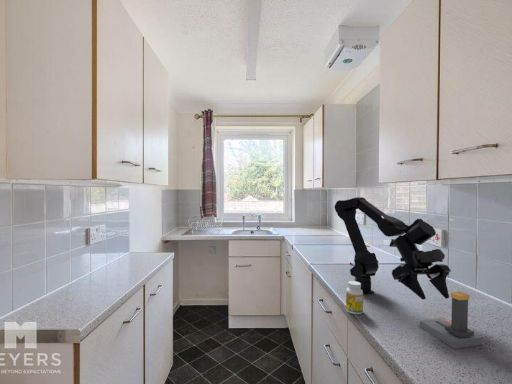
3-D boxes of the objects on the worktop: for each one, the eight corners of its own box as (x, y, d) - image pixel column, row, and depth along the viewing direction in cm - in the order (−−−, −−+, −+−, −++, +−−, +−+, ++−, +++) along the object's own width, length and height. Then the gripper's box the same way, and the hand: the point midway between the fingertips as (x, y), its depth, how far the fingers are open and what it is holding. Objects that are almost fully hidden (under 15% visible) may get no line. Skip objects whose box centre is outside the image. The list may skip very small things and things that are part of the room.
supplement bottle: (366, 314, 87) (366, 285, 87) (351, 315, 86) (351, 286, 86) (356, 307, 92) (357, 279, 92) (342, 308, 91) (343, 280, 91)
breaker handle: (445, 329, 73) (445, 291, 73) (459, 327, 74) (460, 290, 74) (458, 337, 70) (459, 297, 69) (474, 335, 71) (474, 295, 71)
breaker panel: (419, 326, 79) (419, 320, 79) (444, 324, 81) (444, 317, 81) (454, 348, 69) (454, 340, 69) (481, 344, 71) (481, 336, 71)
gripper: (403, 238, 81) (432, 288, 71) (448, 240, 86) (481, 286, 76) (381, 256, 89) (404, 303, 79) (424, 257, 94) (451, 301, 84)
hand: (436, 298), depth 79 cm, fingers open, 9 cm apart
